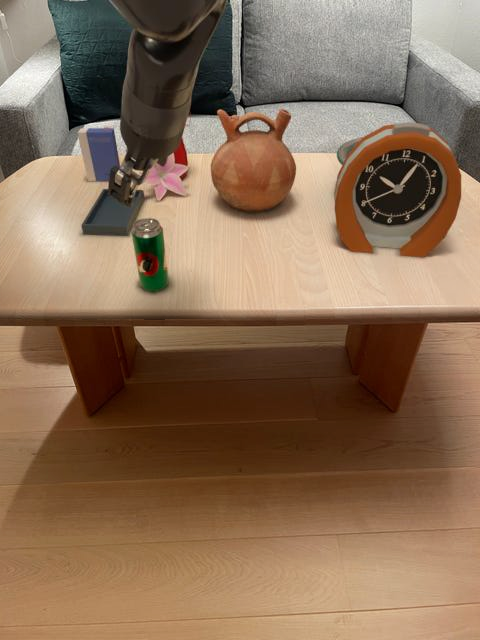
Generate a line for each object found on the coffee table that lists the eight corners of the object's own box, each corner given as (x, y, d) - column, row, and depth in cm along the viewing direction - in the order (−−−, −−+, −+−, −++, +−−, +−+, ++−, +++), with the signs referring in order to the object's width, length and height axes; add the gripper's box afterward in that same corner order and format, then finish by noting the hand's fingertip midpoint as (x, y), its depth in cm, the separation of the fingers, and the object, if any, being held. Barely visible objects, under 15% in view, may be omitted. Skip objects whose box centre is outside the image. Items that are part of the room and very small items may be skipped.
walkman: (121, 176, 116) (113, 126, 108) (120, 180, 114) (111, 130, 106) (89, 176, 116) (79, 126, 108) (87, 181, 114) (76, 130, 106)
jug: (211, 222, 99) (207, 125, 86) (212, 184, 113) (209, 95, 100) (297, 220, 100) (307, 125, 87) (288, 183, 113) (295, 95, 100)
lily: (130, 203, 107) (136, 175, 99) (136, 164, 112) (142, 135, 104) (181, 215, 111) (191, 189, 103) (185, 177, 116) (194, 149, 108)
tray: (127, 235, 95) (126, 226, 94) (83, 234, 95) (81, 225, 94) (144, 198, 107) (143, 190, 106) (105, 197, 107) (103, 188, 106)
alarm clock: (329, 249, 92) (347, 132, 77) (329, 224, 99) (346, 112, 84) (446, 259, 89) (488, 140, 74) (437, 232, 97) (474, 119, 82)
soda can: (173, 287, 82) (167, 227, 74) (146, 296, 80) (136, 235, 72) (162, 272, 85) (155, 213, 77) (136, 280, 84) (125, 221, 76)
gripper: (161, 52, 56) (148, 134, 71) (89, 129, 51) (91, 200, 66) (213, 90, 57) (189, 164, 72) (148, 170, 52) (136, 231, 67)
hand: (142, 181), depth 69 cm, fingers open, 8 cm apart
